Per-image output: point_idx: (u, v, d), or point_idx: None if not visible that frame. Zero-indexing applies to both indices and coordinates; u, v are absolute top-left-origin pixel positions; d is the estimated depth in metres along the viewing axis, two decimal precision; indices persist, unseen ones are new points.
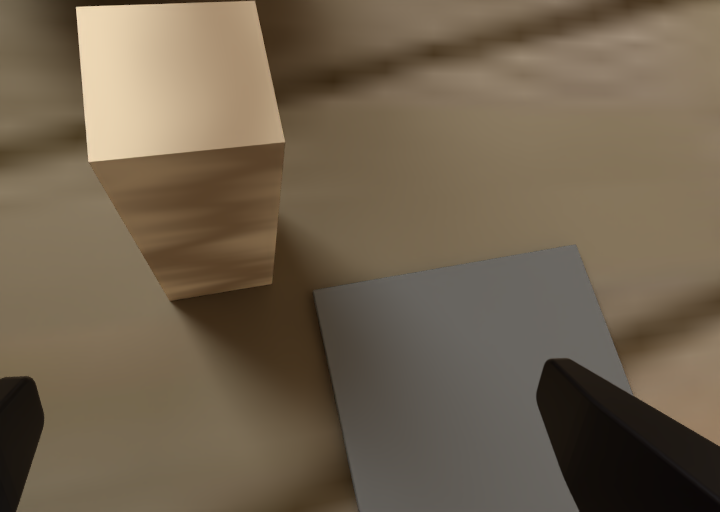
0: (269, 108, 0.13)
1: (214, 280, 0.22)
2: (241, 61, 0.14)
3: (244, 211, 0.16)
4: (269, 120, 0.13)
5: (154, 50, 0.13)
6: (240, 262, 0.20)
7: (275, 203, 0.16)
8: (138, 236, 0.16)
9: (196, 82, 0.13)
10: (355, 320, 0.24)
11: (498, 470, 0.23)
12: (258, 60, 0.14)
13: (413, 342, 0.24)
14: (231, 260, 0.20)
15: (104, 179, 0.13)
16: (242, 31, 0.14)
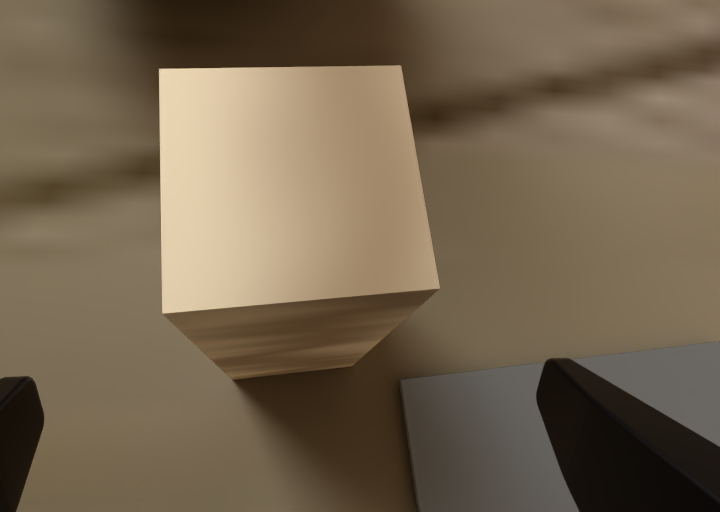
0: (418, 233, 0.09)
1: (288, 368, 0.18)
2: (380, 158, 0.09)
3: (349, 332, 0.12)
4: (418, 253, 0.09)
5: (262, 138, 0.09)
6: (325, 358, 0.17)
7: (392, 326, 0.12)
8: (211, 352, 0.12)
9: (318, 190, 0.09)
10: (448, 422, 0.20)
11: None
12: (404, 157, 0.10)
13: (517, 455, 0.20)
14: (314, 358, 0.16)
15: (180, 323, 0.09)
16: (383, 111, 0.10)
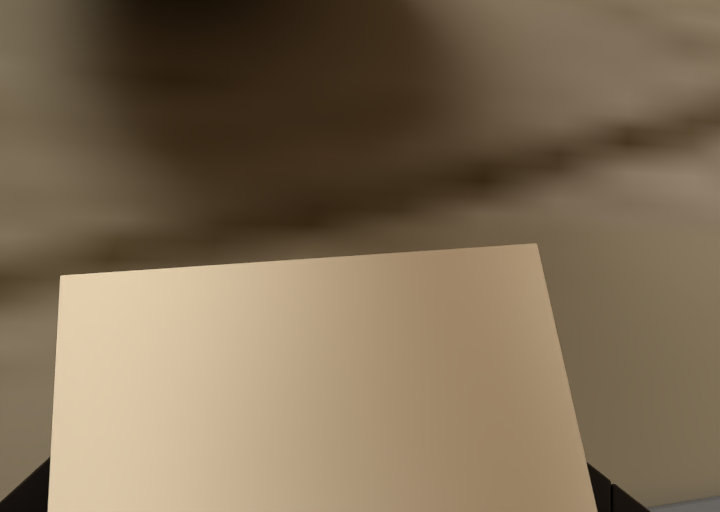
0: None
1: None
2: (513, 459, 0.05)
3: None
4: None
5: (271, 429, 0.04)
6: None
7: None
8: None
9: None
10: None
11: None
12: (560, 453, 0.05)
13: None
14: None
15: None
16: (511, 348, 0.05)
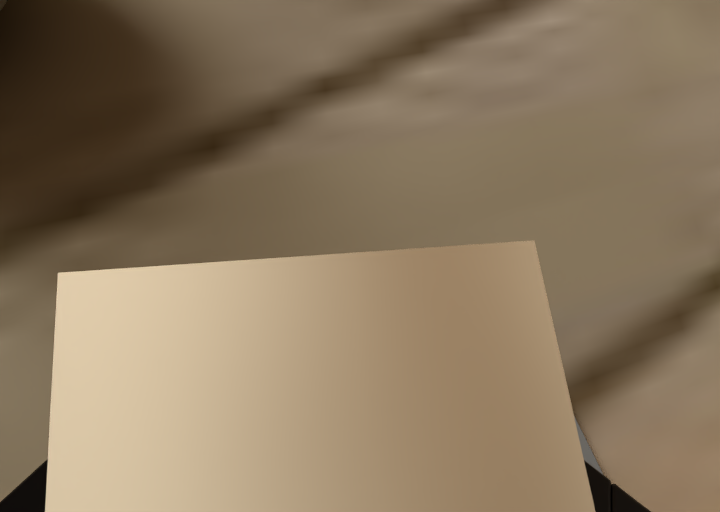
0: None
1: None
2: (510, 456, 0.05)
3: None
4: None
5: (269, 425, 0.04)
6: None
7: None
8: None
9: None
10: None
11: None
12: (557, 450, 0.05)
13: None
14: None
15: None
16: (508, 345, 0.05)
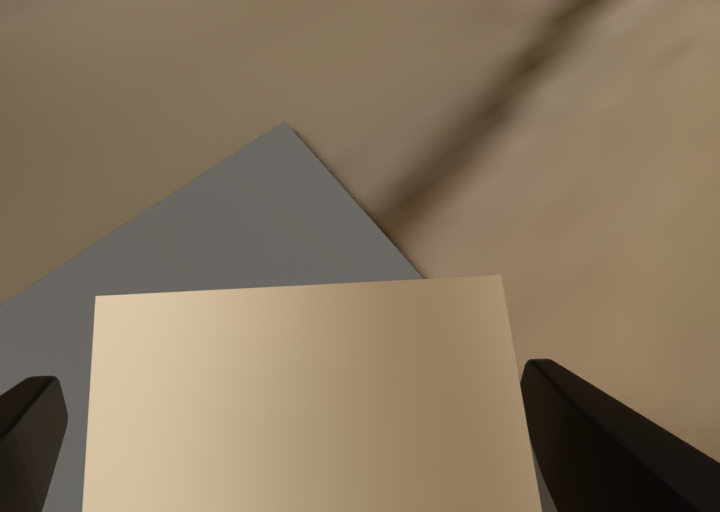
0: None
1: None
2: (471, 461, 0.05)
3: None
4: None
5: (268, 429, 0.05)
6: None
7: None
8: None
9: None
10: None
11: None
12: (511, 456, 0.06)
13: None
14: None
15: None
16: (474, 366, 0.06)
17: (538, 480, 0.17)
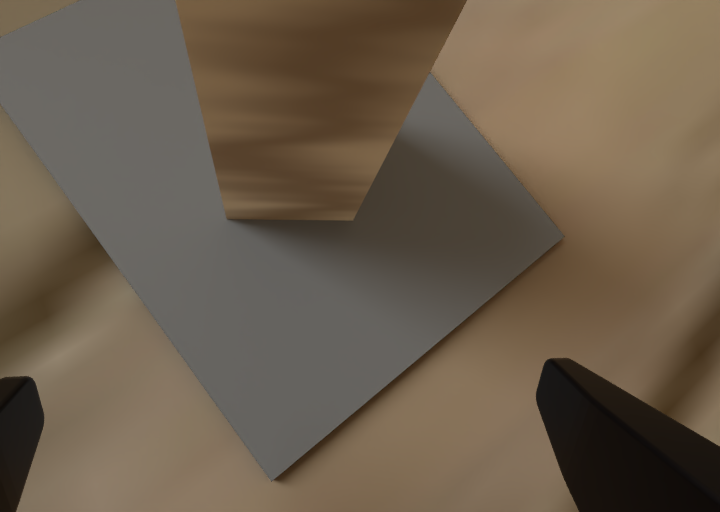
0: None
1: (287, 202, 0.17)
2: None
3: (363, 101, 0.11)
4: None
5: None
6: (328, 183, 0.15)
7: (411, 96, 0.11)
8: (210, 112, 0.11)
9: None
10: (35, 70, 0.18)
11: None
12: None
13: (121, 70, 0.19)
14: (317, 178, 0.15)
15: None
16: None
17: (494, 208, 0.20)
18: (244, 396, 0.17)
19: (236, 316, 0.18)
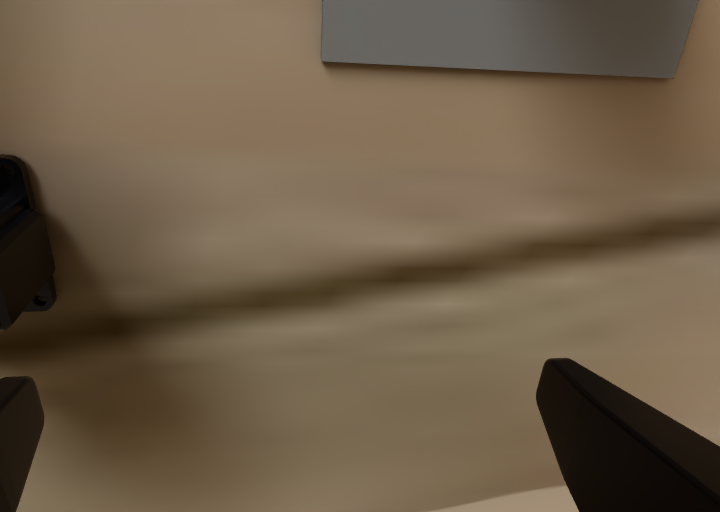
0: None
1: None
2: None
3: None
4: None
5: None
6: None
7: None
8: None
9: None
10: None
11: None
12: None
13: None
14: None
15: None
16: None
17: (655, 5, 0.19)
18: None
19: None
